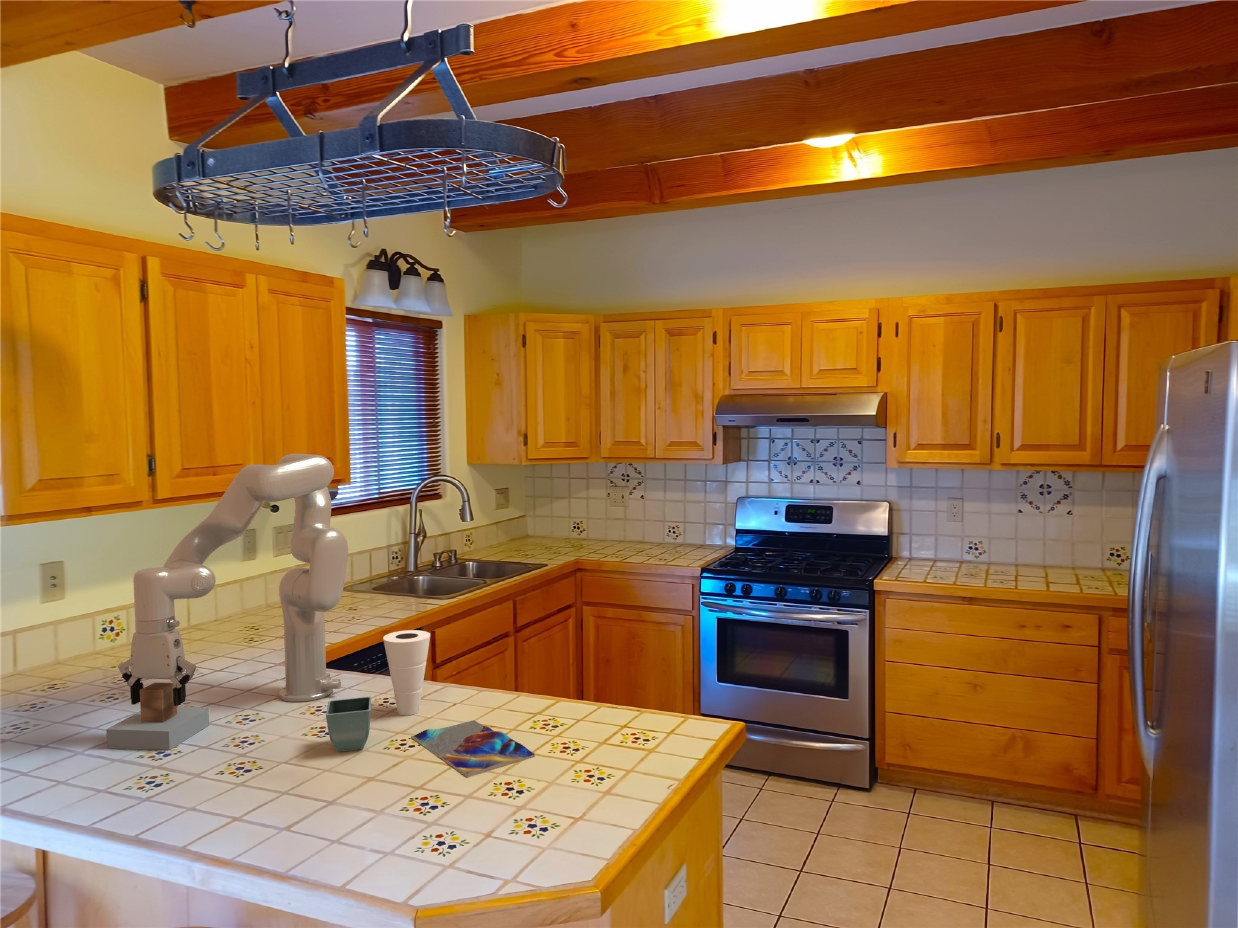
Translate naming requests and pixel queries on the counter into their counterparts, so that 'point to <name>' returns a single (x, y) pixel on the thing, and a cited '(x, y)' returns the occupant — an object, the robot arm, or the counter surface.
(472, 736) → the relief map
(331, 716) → the flower pot
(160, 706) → the walnut block
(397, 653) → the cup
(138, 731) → the pedestal
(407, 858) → the counter surface
